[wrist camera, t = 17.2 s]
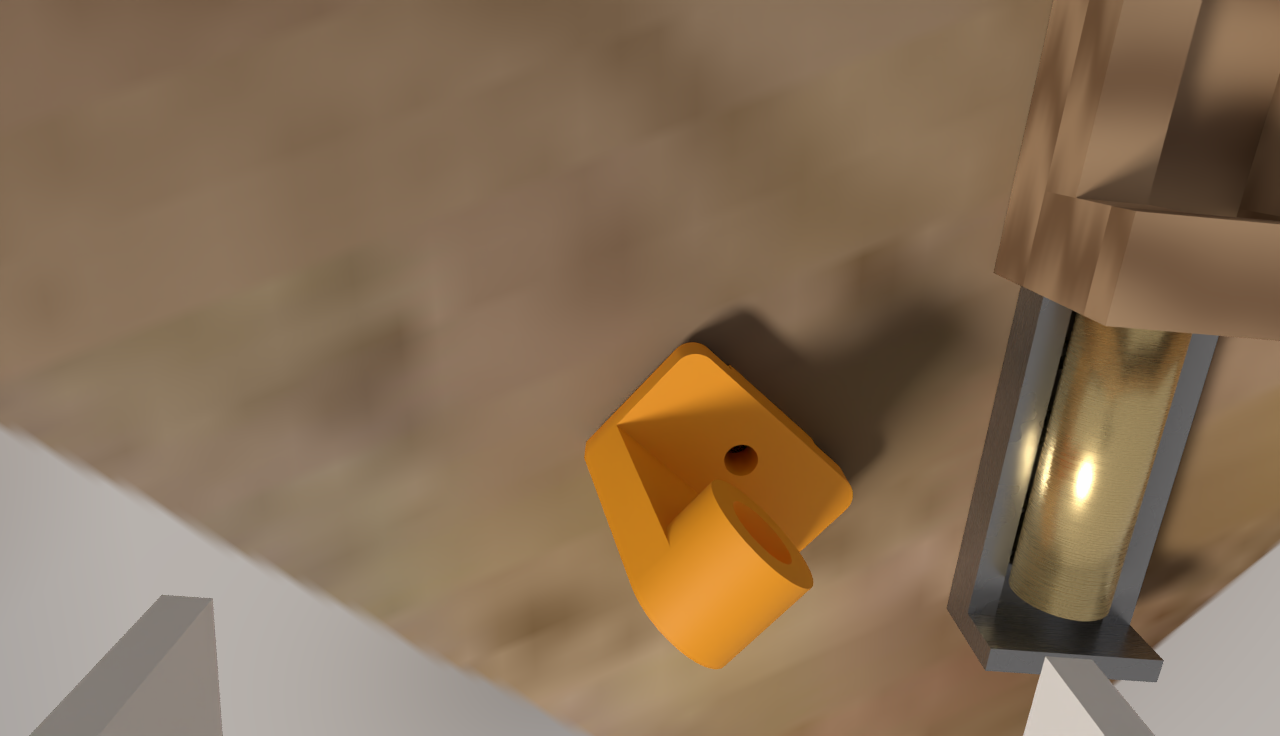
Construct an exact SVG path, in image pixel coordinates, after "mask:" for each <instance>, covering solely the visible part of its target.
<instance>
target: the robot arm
mask: <svg viewBox="0 0 1280 736" xmlns="http://www.w3.org/2000/svg"><path fill="white" fill-rule="evenodd" d="M30 736H223V735H222V721H221V708H220V694H219V680H218V666H217V653H216V639H215V626H214V612H213V599H212V598H198V597H184V596H183V597H182V596H169V595H161V596H160V598H159V599H158V600H157V601H156V602H155V603H154V604H153V605H152V606H151V607H150V608H149V609H148V610H147V611H146V612H145V613H144V615H143V616H142V617H141V618H140V619H139V620H138V621H137V622H136V623H135V624H134V625H133V626H132V628H130V629H129V630H128V632H127V633H126V634H125V635H124V636H123V637H122V638H121V639H120V640H119V641H118V642H117V643H116V644H115V645H114V646H113V647H112V649H111V650H110V651H109V652H108V653H107V654H106V655H105V656H104V657H103V658H102V659H101V660H100V661H99V662H98V663H97V664H96V666H95V667H94V668H93V669H92V670H91V671H90V672H89V673H88V674H87V675H86V676H85V677H84V678H83V679H82V680H81V682H80V683H79V684H78V685H77V686H76V687H75V688H74V689H73V690H72V691H71V692H70V693H69V694H68V695H67V696H66V697H65V699H64V700H63V701H62V702H61V703H60V704H59V705H58V706H57V707H56V708H55V709H54V710H53V711H52V712H51V713H50V715H49V716H48V717H47V718H46V719H45V720H44V721H43V722H42V723H41V724H40V725H39V726H38V727H37V728H36V729H35V730H34V732H32V734H31V735H30ZM1024 736H1155V735H1154V734H1153V733H1152V732H1151V730H1150V729H1149V728H1148V727H1147V725H1146V724H1145V723H1144V722H1143V721H1142V720H1141V719H1140V717H1139V716H1138V715H1137V713H1136V712H1135V711H1134V710H1133V709H1132V707H1131V706H1130V705H1129V704H1128V702H1127V701H1126V700H1125V699H1124V698H1123V696H1122V695H1121V694H1120V693H1119V692H1118V690H1117V689H1116V688H1115V687H1114V686H1113V684H1112V683H1111V682H1110V681H1109V679H1108V678H1107V677H1106V676H1105V675H1104V673H1103V672H1102V671H1101V670H1100V669H1099V667H1098V666H1097V665H1096V664H1095V663H1094V661H1093V660H1091V659H1076V658H1062V657H1048V656H1045V660H1044V663H1043V667H1042V671H1041V674H1040V678H1039V681H1038V685H1037V689H1036V692H1035V696H1034V699H1033V703H1032V707H1031V710H1030V714H1029V717H1028V721H1027V725H1026V728H1025V732H1024Z"/></svg>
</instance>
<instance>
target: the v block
mask: <svg viewBox="0 0 1280 736" xmlns="http://www.w3.org/2000/svg"><path fill="white" fill-rule="evenodd" d="M1076 313H1077V312H1075V311H1073V310H1071V309H1069V308H1067V307H1065V306H1062V305H1060V304H1058V303H1056V302H1054V301H1052V300H1050V299H1048V298H1046V297H1044V296H1041V295H1039V294H1037V293H1035V292H1033V291H1031V290H1029V289H1027V288H1025V287H1023V286H1021V289H1020V293H1019V298H1018V302H1017V306H1016V311H1015V315H1014V319H1013V324H1012V328H1011V332H1010V337H1009V341H1008V345H1007V350H1006V354H1005V358H1004V363H1003V367H1002V371H1001V376H1000V380H999V384H998V389H997V393H996V397H995V402H994V406H993V410H992V415H991V419H990V423H989V428H988V432H987V436H986V441H985V445H984V449H983V454H982V458H981V462H980V467H979V471H978V475H977V480H976V484H975V488H974V493H973V497H972V501H971V506H970V510H969V514H968V519H967V523H966V527H965V532H964V536H963V540H962V545H961V549H960V553H959V558H958V562H957V566H956V571H955V575H954V579H953V584H952V588H951V592H950V597H949V601H948V605H947V610H948V611H949V613H950V615H951V616H952V618H953V619H954V621H955V623H956V624H957V626H958V627H959V629H960V631H961V632H962V634H963V635H964V637H965V639H966V640H967V642H968V644H969V645H970V647H971V648H972V650H973V652H974V653H975V655H976V656H977V658H978V660H979V661H980V663H981V664H982V666H983V668H984V669H985V671H1000V672H1014V673H1029V674H1041V671H1042V667H1043V663H1044V660H1045V656H1048V657H1062V658H1076V659H1091V660H1093V661H1094V663H1095V664H1096V665H1097V666H1098V667H1099V669H1100V670H1101V671H1102V672H1103V673H1104V675H1105V676H1106V677H1107V678H1108V679H1116V680H1131V681H1146V682H1157V680H1158V676H1159V673H1160V670H1161V667H1162V664H1163V661H1164V660H1163V659H1162V658H1160V656H1159V655H1158V654H1157V653H1156V652H1155V651H1154V650H1153V649H1152V648H1151V647H1150V646H1149V645H1148V644H1147V643H1146V642H1145V641H1144V639H1143V638H1142V637H1141V636H1140V635H1139V634H1138V633H1137V632H1136V631H1135V630H1134V629H1133V628H1132V627H1131V626H1130V622H1131V619H1132V615H1133V612H1134V609H1135V606H1136V603H1137V599H1138V596H1139V593H1140V590H1141V586H1142V583H1143V580H1144V577H1145V573H1146V570H1147V567H1148V564H1149V560H1150V557H1151V554H1152V551H1153V547H1154V544H1155V541H1156V538H1157V534H1158V531H1159V528H1160V525H1161V522H1162V518H1163V515H1164V512H1165V509H1166V505H1167V502H1168V499H1169V496H1170V492H1171V489H1172V486H1173V483H1174V479H1175V476H1176V473H1177V470H1178V466H1179V463H1180V460H1181V457H1182V453H1183V450H1184V447H1185V444H1186V441H1187V437H1188V434H1189V431H1190V428H1191V424H1192V421H1193V418H1194V415H1195V411H1196V408H1197V405H1198V402H1199V398H1200V395H1201V392H1202V389H1203V385H1204V382H1205V379H1206V376H1207V372H1208V369H1209V366H1210V363H1211V359H1212V356H1213V353H1214V350H1215V347H1216V343H1217V340H1218V337H1219V336H1216V335H1205V334H1192V337H1191V340H1190V344H1189V347H1188V350H1187V354H1186V357H1185V360H1184V364H1183V367H1182V370H1181V374H1180V377H1179V380H1178V384H1177V387H1176V390H1175V394H1174V397H1173V400H1172V404H1171V407H1170V410H1169V414H1168V417H1167V420H1166V424H1165V427H1164V430H1163V434H1162V437H1161V440H1160V444H1159V447H1158V450H1157V454H1156V457H1155V460H1154V464H1153V467H1152V471H1151V474H1150V477H1149V481H1148V484H1147V487H1146V491H1145V494H1144V497H1143V501H1142V504H1141V507H1140V511H1139V514H1138V517H1137V521H1136V524H1135V527H1134V531H1133V534H1132V537H1131V541H1130V544H1129V547H1128V551H1127V554H1126V557H1125V561H1124V564H1123V567H1122V571H1121V574H1120V577H1119V581H1118V584H1117V587H1116V591H1115V594H1114V597H1113V601H1112V604H1111V607H1110V611H1109V614H1108V615H1107V616H1106V617H1105V618H1103V619H1101V620H1097V621H1076V620H1070V619H1065V618H1061V617H1057V616H1054V615H1051V614H1049V613H1046V612H1044V611H1041V610H1039V609H1037V608H1035V607H1033V606H1031V605H1030V604H1028V603H1026V602H1025V601H1024V600H1022V599H1021V598H1020V597H1018V596H1017V595H1016V594H1015V593H1014V592H1013V590H1012V589H1011V587H1010V585H1009V576H1010V572H1011V568H1012V564H1013V560H1014V557H1015V553H1016V549H1017V545H1018V541H1019V537H1020V533H1021V529H1022V525H1023V521H1024V517H1025V513H1026V509H1027V505H1028V501H1029V498H1030V494H1031V490H1032V486H1033V482H1034V478H1035V474H1036V470H1037V466H1038V462H1039V458H1040V454H1041V450H1042V446H1043V442H1044V439H1045V435H1046V431H1047V427H1048V423H1049V419H1050V415H1051V411H1052V407H1053V403H1054V399H1055V395H1056V391H1057V387H1058V383H1059V380H1060V376H1061V372H1062V368H1063V364H1064V360H1065V356H1066V352H1067V348H1068V344H1069V340H1070V336H1071V332H1072V328H1073V324H1074V321H1075V317H1076Z"/></svg>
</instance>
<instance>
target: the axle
mask: <svg viewBox="0 0 1280 736" xmlns="http://www.w3.org/2000/svg"><path fill="white" fill-rule="evenodd" d="M1192 334H1193V333H1181V332H1170V331H1158V330H1146V329H1135V328H1123V327H1111V326H1104V325H1102V324H1100V323H1098V322H1096V321H1094V320H1092V319H1090V318H1088V317H1086V316H1083V315H1081V314H1079V313H1076V317H1075V321H1074V324H1073V328H1072V332H1071V336H1070V340H1069V344H1068V348H1067V352H1066V356H1065V360H1064V364H1063V368H1062V372H1061V376H1060V380H1059V383H1058V387H1057V391H1056V395H1055V399H1054V403H1053V407H1052V411H1051V415H1050V419H1049V423H1048V427H1047V431H1046V435H1045V439H1044V442H1043V446H1042V450H1041V454H1040V458H1039V462H1038V466H1037V470H1036V474H1035V478H1034V482H1033V486H1032V490H1031V494H1030V498H1029V501H1028V505H1027V509H1026V513H1025V517H1024V521H1023V525H1022V529H1021V533H1020V537H1019V541H1018V545H1017V549H1016V553H1015V557H1014V560H1013V564H1012V568H1011V572H1010V576H1009V585H1010V587H1011V589H1012V590H1013V592H1014V593H1015V594H1016V595H1017V596H1018V597H1020V598H1021V599H1022V600H1024V601H1025V602H1026V603H1028V604H1030V605H1031V606H1033V607H1035V608H1037V609H1039V610H1041V611H1044V612H1046V613H1049V614H1051V615H1054V616H1057V617H1061V618H1065V619H1070V620H1076V621H1097V620H1101V619H1103V618H1105V617H1106V616H1107V615H1108V614H1109V611H1110V607H1111V604H1112V601H1113V597H1114V594H1115V591H1116V587H1117V584H1118V581H1119V577H1120V574H1121V571H1122V567H1123V564H1124V561H1125V557H1126V554H1127V551H1128V547H1129V544H1130V541H1131V537H1132V534H1133V531H1134V527H1135V524H1136V521H1137V517H1138V514H1139V511H1140V507H1141V504H1142V501H1143V497H1144V494H1145V491H1146V487H1147V484H1148V481H1149V477H1150V474H1151V471H1152V467H1153V464H1154V460H1155V457H1156V454H1157V450H1158V447H1159V444H1160V440H1161V437H1162V434H1163V430H1164V427H1165V424H1166V420H1167V417H1168V414H1169V410H1170V407H1171V404H1172V400H1173V397H1174V394H1175V390H1176V387H1177V384H1178V380H1179V377H1180V374H1181V370H1182V367H1183V364H1184V360H1185V357H1186V354H1187V350H1188V347H1189V344H1190V340H1191V337H1192Z"/></svg>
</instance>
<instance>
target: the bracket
mask: <svg viewBox="0 0 1280 736" xmlns="http://www.w3.org/2000/svg"><path fill="white" fill-rule="evenodd" d="M737 445H747V447H746V448H745V449H744V450H743V451H741V452H738V453H729V452H728V450H729V449H731V448H732V447H734V446H737ZM584 458H585V461H586V464H587V466H588V469H589V472H590V474H591V477H592V480H593V483H594V485H595V488H596V491H597V494H598V496H599V499H600V502H601V504H602V507H603V510H604V513H605V515H606V518H607V521H608V524H609V526H610V529H611V532H612V534H613V537H614V540H615V543H616V545H617V548H618V551H619V554H620V556H621V559H622V562H623V564H624V567H625V570H626V573H627V575H628V578H629V581H630V584H631V586H632V589H633V591H634V594H635V596H636V598H637V600H638V601H639V603H640V605H641V606H642V608H643V610H644V611H645V613H646V614H647V616H648V617H649V618H650V620H651V621H652V622H653V624H654V625H655V626H656V627H657V629H658V630H659V631H660V632H661V633H662V634H663V635H664V636H665V637H666V638H667V639H668V640H669V641H670V642H671V643H672V644H673V645H674V646H675V647H676V648H677V649H678V650H679V651H681V652H682V653H683V654H684V655H686V656H687V657H688V658H690V659H692V660H693V661H695V662H696V663H698V664H700V665H702V666H705V667H708V668H711V669H720V668H723V667H724V666H725V665H726V664H727V663H728V662H730V661H731V660H732V659H733V658H734V657H735V656H736V655H737V654H738V653H740V652H741V651H742V650H743V649H744V648H745V647H746V646H747V645H748V644H750V643H751V642H752V641H753V640H754V639H755V638H756V637H757V636H758V635H760V634H761V633H762V632H763V631H764V630H765V629H766V628H767V627H768V626H770V625H771V624H772V623H773V622H774V621H775V620H776V619H777V618H778V617H779V616H781V615H782V614H783V613H784V612H785V611H786V610H787V609H788V608H789V607H791V606H792V605H793V604H794V603H795V602H796V601H797V600H798V599H799V598H801V597H802V596H803V595H804V594H805V593H806V592H807V591H808V590H809V589H811V588H812V586H813V578H812V575H811V572H810V570H809V568H808V566H807V564H806V562H805V560H804V559H803V557H802V556H801V554H800V553H799V552H800V551H801V550H802V549H804V548H805V547H806V546H807V545H808V544H809V543H810V542H811V541H812V540H813V539H814V538H816V537H817V536H818V535H819V534H820V533H821V532H822V531H823V530H824V529H825V528H826V527H828V526H829V525H830V524H831V523H832V522H833V521H834V520H835V519H836V518H837V517H838V516H840V515H841V514H842V513H843V512H844V511H845V510H846V509H847V508H848V507H849V505H850V504H851V501H852V498H853V491H852V488H851V486H850V484H849V482H848V481H847V479H846V477H845V475H844V474H843V472H842V470H841V468H840V467H839V466H838V465H837V464H836V463H835V462H834V461H833V460H832V459H831V458H829V457H828V456H827V455H826V454H825V453H824V452H823V451H822V450H821V449H819V448H818V447H817V446H816V445H815V444H814V442H813V440H812V438H811V437H810V436H809V435H807V434H806V433H805V432H804V431H803V430H802V429H801V428H800V427H799V426H797V425H796V424H795V423H794V422H793V421H792V420H791V419H790V418H789V417H787V416H786V415H785V414H784V413H783V412H782V411H781V410H780V409H779V408H777V407H776V406H775V405H774V404H773V403H772V402H771V401H770V400H769V399H767V398H766V397H765V396H764V395H763V394H762V393H761V392H760V391H759V390H757V389H756V388H755V387H754V386H753V385H752V384H751V383H750V382H749V381H747V380H746V379H745V378H744V377H743V376H742V375H741V374H740V373H739V372H737V371H736V370H735V369H734V368H733V367H732V366H731V365H729V366H727V365H726V364H725V363H724V362H723V361H722V360H720V359H719V358H718V357H717V356H716V355H715V354H714V353H713V352H712V351H710V350H709V349H708V348H707V347H706V346H704V345H702V344H700V343H695V342H690V343H685V344H683V345H681V346H679V347H678V348H677V349H676V350H675V351H674V352H673V353H672V354H671V355H670V356H669V357H668V358H667V359H666V360H665V361H664V362H663V363H662V364H661V365H660V366H659V367H658V368H657V369H656V370H655V371H654V372H653V373H652V374H651V376H650V377H649V378H648V379H647V380H646V381H645V382H644V383H643V384H642V385H641V386H640V387H639V388H638V389H637V390H636V391H635V392H634V393H633V394H632V395H631V396H630V397H629V398H628V399H627V400H626V401H625V402H624V403H623V405H622V406H621V407H620V408H619V409H618V410H617V411H616V412H615V413H614V414H613V415H612V416H611V417H610V418H609V419H608V420H607V421H606V422H605V423H604V424H603V425H602V426H601V427H600V428H599V429H598V430H597V431H596V432H595V433H594V435H593V436H592V437H591V438H590V439H589V440H588V441H587V442H586V449H585V457H584Z"/></svg>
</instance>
